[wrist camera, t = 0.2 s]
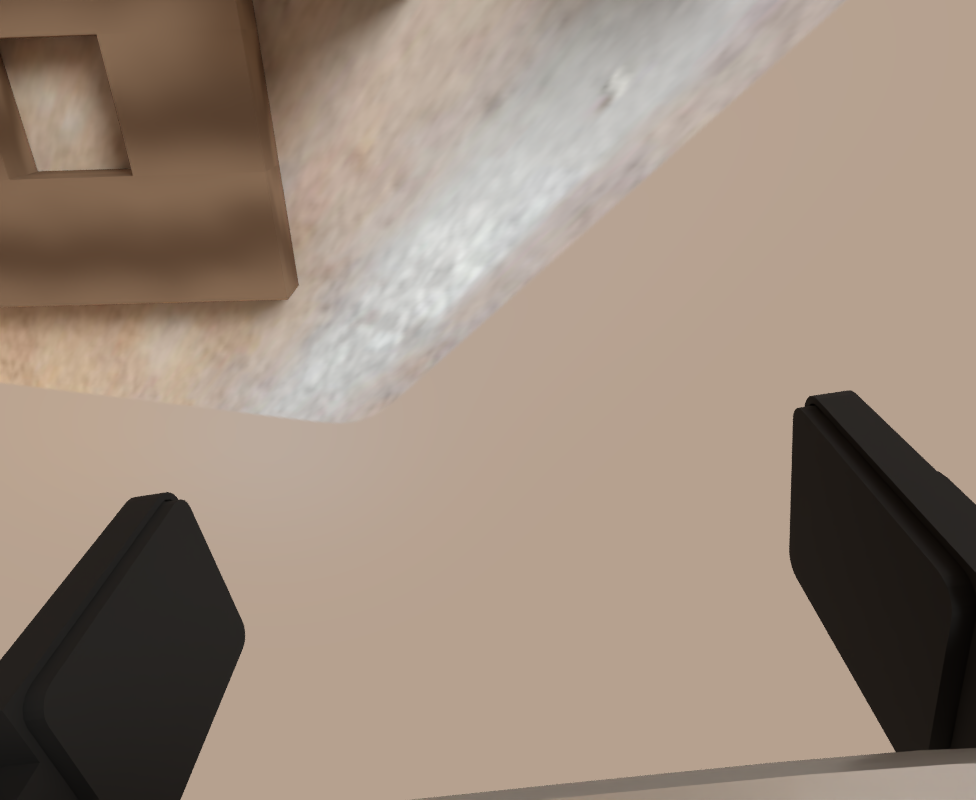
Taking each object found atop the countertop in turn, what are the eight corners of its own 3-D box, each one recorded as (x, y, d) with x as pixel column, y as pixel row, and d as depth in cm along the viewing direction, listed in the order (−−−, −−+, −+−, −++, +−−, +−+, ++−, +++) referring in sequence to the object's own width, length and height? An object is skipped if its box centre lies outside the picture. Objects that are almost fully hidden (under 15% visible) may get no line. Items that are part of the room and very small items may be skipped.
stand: (-205, -124, 32) (-258, -137, 29) (229, -141, 31) (209, -155, 29) (-38, 294, 41) (-69, 309, 39) (298, 285, 40) (287, 299, 38)
